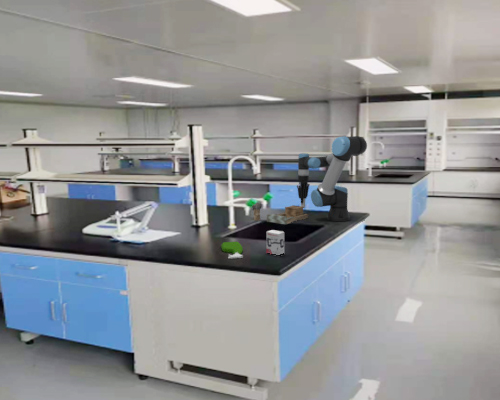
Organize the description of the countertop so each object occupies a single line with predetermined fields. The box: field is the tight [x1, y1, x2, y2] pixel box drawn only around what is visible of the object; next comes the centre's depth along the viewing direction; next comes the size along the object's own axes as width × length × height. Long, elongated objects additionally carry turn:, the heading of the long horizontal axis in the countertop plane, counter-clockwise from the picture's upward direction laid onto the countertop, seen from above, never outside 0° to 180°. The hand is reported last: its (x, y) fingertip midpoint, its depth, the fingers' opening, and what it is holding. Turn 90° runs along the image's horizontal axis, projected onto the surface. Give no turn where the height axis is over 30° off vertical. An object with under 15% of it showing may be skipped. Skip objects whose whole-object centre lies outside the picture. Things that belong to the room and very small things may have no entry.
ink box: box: [265, 229, 285, 256], centre depth 231 cm, size 8×5×12 cm, turn 48°
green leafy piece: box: [220, 241, 244, 260], centre depth 237 cm, size 3×11×24 cm
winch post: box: [251, 202, 262, 222], centre depth 316 cm, size 6×4×14 cm
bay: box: [266, 212, 309, 225], centre depth 316 cm, size 16×26×5 cm, turn 138°
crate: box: [284, 205, 304, 218], centre depth 321 cm, size 9×9×8 cm
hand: (302, 207), depth 330 cm, fingers closed
